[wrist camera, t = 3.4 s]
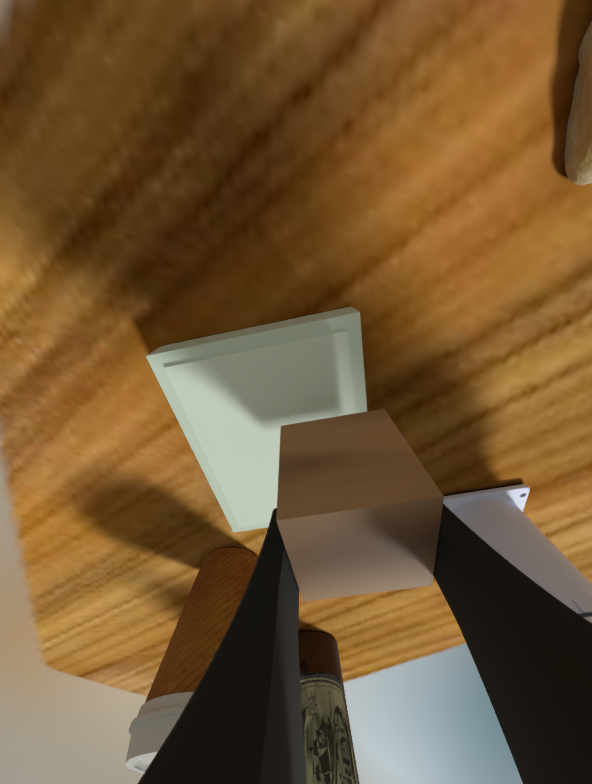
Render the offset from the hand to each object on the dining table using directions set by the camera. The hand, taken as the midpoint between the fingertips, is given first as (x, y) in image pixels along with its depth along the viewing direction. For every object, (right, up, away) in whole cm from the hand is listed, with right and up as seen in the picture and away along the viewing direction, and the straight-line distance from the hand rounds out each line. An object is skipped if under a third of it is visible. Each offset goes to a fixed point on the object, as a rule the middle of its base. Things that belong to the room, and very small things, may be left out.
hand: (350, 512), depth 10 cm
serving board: (-3, +2, +8) cm, 9 cm away
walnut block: (0, +2, +2) cm, 3 cm away
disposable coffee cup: (-9, -13, +16) cm, 23 cm away
